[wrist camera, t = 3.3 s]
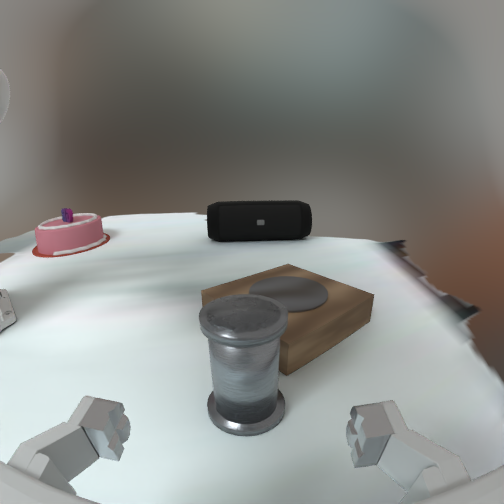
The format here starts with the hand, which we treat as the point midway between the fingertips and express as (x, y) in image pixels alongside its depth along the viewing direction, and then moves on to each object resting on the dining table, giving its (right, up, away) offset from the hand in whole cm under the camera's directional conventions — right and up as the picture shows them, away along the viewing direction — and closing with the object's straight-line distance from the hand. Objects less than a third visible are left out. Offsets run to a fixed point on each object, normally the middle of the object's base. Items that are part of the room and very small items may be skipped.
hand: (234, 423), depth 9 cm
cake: (-52, +8, +69) cm, 87 cm away
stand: (+5, -3, +31) cm, 31 cm away
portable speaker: (+2, +9, +71) cm, 71 cm away
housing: (0, -8, +16) cm, 18 cm away
